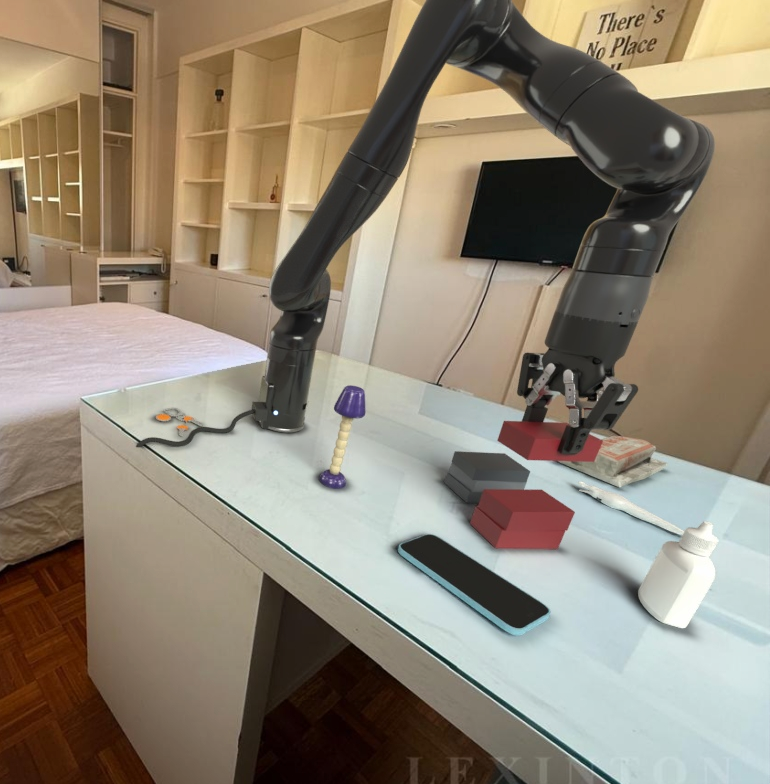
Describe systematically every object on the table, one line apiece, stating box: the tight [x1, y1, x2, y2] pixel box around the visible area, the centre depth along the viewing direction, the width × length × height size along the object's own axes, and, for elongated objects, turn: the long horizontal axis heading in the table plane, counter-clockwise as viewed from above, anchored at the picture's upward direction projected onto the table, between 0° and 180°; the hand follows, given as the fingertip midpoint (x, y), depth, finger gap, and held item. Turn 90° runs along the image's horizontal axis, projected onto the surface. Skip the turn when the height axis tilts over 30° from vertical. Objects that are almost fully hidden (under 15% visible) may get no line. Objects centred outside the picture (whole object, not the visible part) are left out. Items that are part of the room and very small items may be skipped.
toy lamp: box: [318, 384, 366, 490], centre depth 72 cm, size 5×5×17 cm
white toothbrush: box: [577, 480, 685, 536], centre depth 71 cm, size 15×3×2 cm, turn 22°
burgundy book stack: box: [469, 489, 576, 550], centre depth 63 cm, size 9×6×6 cm, turn 93°
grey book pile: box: [443, 450, 531, 504], centre depth 73 cm, size 9×6×6 cm
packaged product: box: [557, 435, 668, 488], centre depth 85 cm, size 18×5×10 cm
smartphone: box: [397, 533, 552, 636], centre depth 54 cm, size 7×1×15 cm
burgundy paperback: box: [497, 420, 603, 462], centre depth 59 cm, size 9×5×3 cm, turn 93°
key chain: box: [155, 407, 203, 437], centre depth 93 cm, size 13×7×1 cm, turn 30°
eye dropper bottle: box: [637, 520, 720, 629], centre depth 50 cm, size 4×6×12 cm
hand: (547, 442), depth 59 cm, fingers closed on burgundy paperback, 5 cm apart
